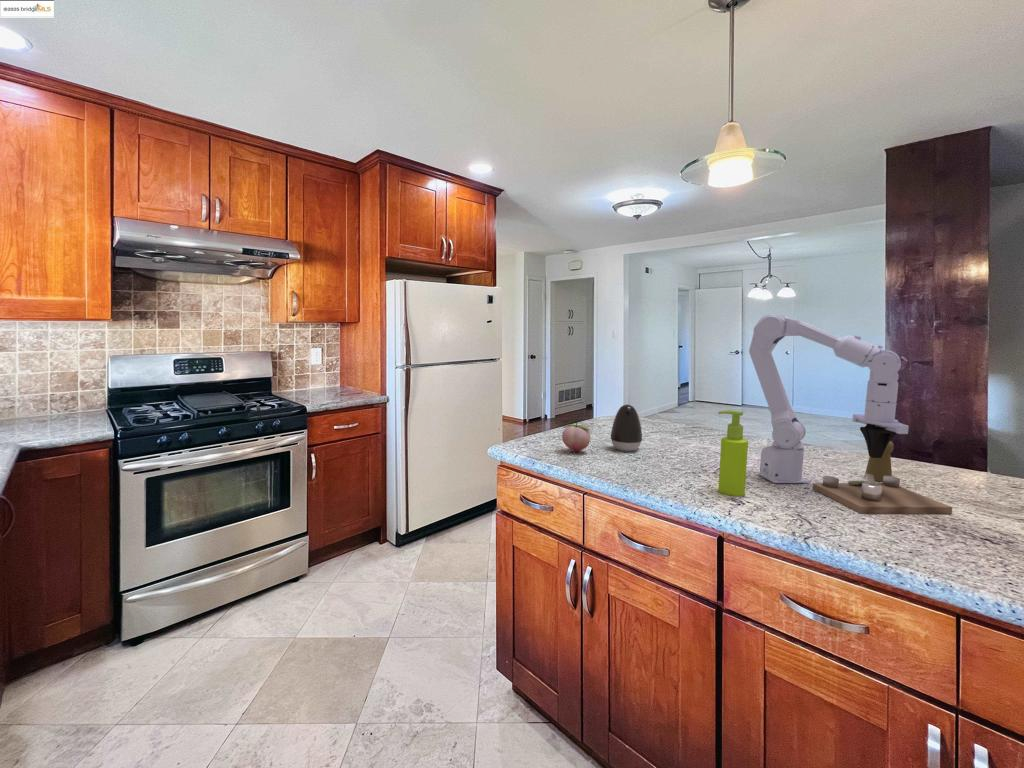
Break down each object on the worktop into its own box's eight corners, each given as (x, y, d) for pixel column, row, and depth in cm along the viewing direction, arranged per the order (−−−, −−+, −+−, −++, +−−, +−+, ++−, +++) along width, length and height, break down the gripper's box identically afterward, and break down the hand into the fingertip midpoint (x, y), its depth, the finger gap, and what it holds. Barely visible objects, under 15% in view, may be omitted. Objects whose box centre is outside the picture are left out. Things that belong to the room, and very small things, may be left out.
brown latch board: (860, 513, 101) (862, 497, 101) (812, 488, 117) (813, 475, 117) (952, 513, 101) (953, 498, 101) (891, 489, 118) (892, 475, 117)
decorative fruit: (593, 450, 154) (594, 420, 153) (587, 456, 147) (587, 425, 146) (566, 447, 158) (566, 418, 157) (558, 453, 150) (559, 422, 149)
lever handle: (881, 501, 104) (882, 488, 103) (861, 498, 106) (862, 485, 105) (877, 487, 114) (878, 475, 113) (859, 484, 116) (860, 472, 115)
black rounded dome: (610, 453, 151) (612, 406, 150) (609, 445, 161) (611, 401, 160) (643, 454, 150) (645, 407, 148) (640, 446, 160) (641, 402, 158)
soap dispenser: (716, 485, 119) (720, 408, 117) (746, 491, 115) (751, 411, 113) (711, 492, 114) (716, 411, 112) (742, 497, 111) (747, 414, 108)
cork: (897, 483, 122) (901, 442, 121) (871, 482, 123) (875, 441, 122) (884, 476, 128) (888, 437, 127) (859, 475, 129) (863, 436, 128)
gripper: (924, 406, 104) (917, 465, 105) (874, 397, 118) (868, 449, 120) (892, 405, 104) (886, 465, 105) (846, 396, 118) (841, 449, 120)
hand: (875, 457), depth 112 cm, fingers closed
